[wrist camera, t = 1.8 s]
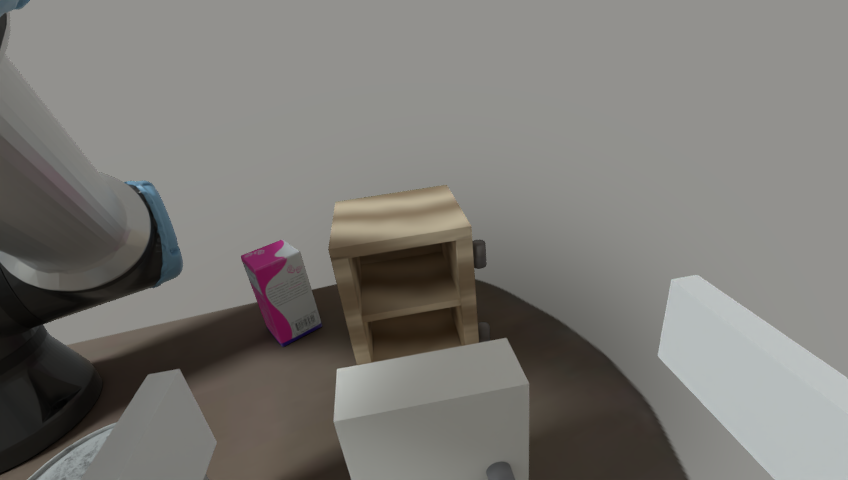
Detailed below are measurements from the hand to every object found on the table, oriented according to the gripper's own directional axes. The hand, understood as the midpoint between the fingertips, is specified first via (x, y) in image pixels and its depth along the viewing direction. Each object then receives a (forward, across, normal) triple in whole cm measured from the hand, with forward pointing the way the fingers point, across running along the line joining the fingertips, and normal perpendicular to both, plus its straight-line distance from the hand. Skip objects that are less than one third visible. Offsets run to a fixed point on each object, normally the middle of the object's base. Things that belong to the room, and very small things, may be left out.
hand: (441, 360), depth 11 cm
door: (+10, 0, -25) cm, 27 cm away
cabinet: (+26, +1, -25) cm, 36 cm away
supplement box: (+38, -16, -25) cm, 48 cm away
